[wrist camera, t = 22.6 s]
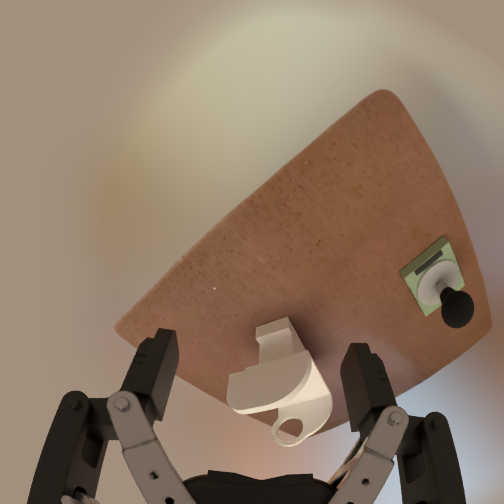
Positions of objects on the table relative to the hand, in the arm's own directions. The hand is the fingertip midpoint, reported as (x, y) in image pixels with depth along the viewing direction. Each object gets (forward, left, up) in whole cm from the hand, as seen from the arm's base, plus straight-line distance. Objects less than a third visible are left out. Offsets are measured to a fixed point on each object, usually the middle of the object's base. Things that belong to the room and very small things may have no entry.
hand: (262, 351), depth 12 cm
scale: (+6, +33, -28) cm, 44 cm away
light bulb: (+6, +33, -25) cm, 42 cm away
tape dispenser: (+28, +11, -28) cm, 41 cm away
